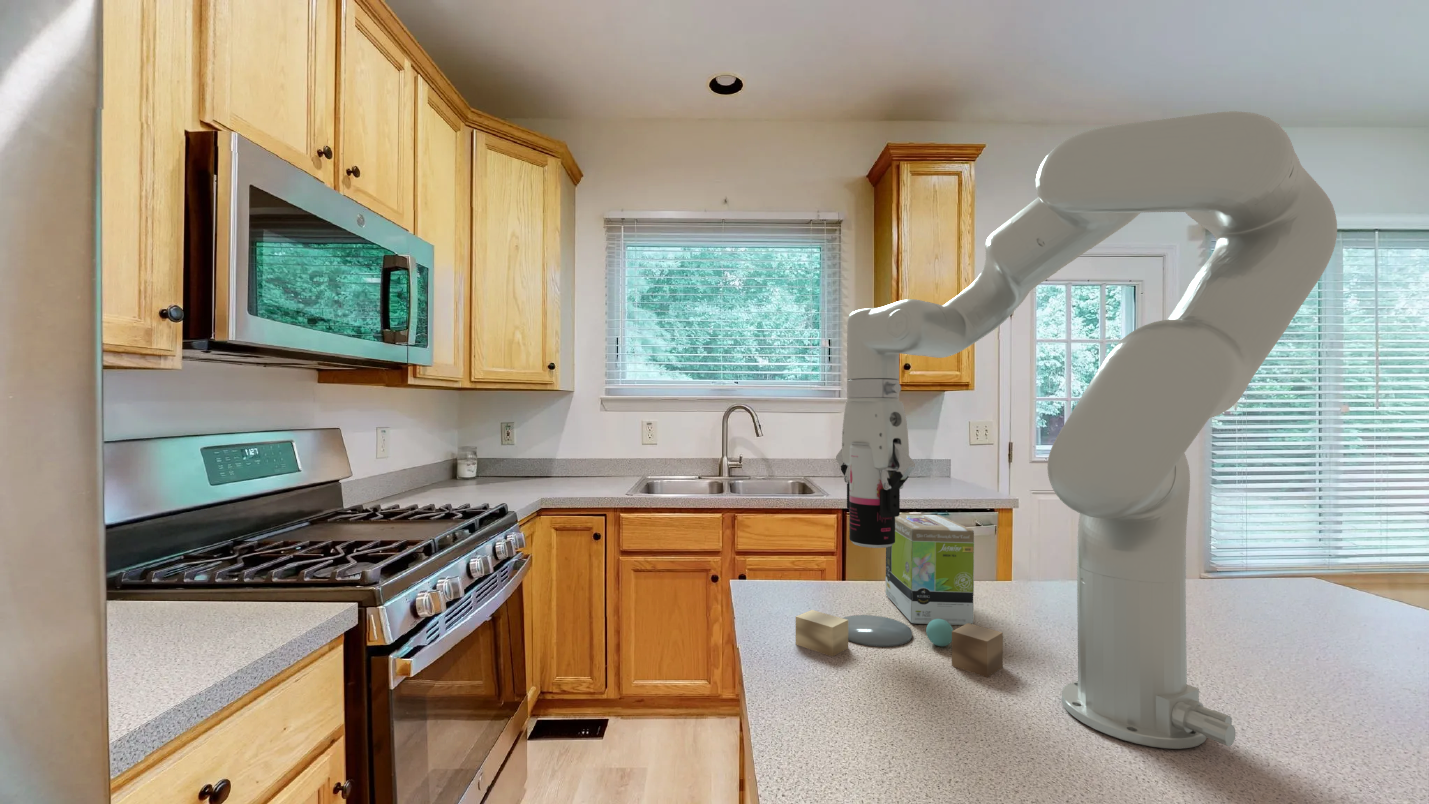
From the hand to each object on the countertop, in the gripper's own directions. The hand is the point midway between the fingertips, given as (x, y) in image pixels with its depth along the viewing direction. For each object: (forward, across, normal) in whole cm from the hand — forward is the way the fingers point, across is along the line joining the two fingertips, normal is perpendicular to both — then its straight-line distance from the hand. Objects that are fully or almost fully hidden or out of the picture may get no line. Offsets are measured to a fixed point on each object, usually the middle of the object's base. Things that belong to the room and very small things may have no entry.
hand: (872, 511), depth 87 cm
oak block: (+18, -1, +10) cm, 21 cm away
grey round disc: (+18, 0, 0) cm, 18 cm away
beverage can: (+5, 0, 0) cm, 5 cm away
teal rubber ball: (+16, -8, -5) cm, 19 cm away
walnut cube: (+18, -15, -4) cm, 24 cm away
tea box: (+18, +4, -15) cm, 24 cm away
